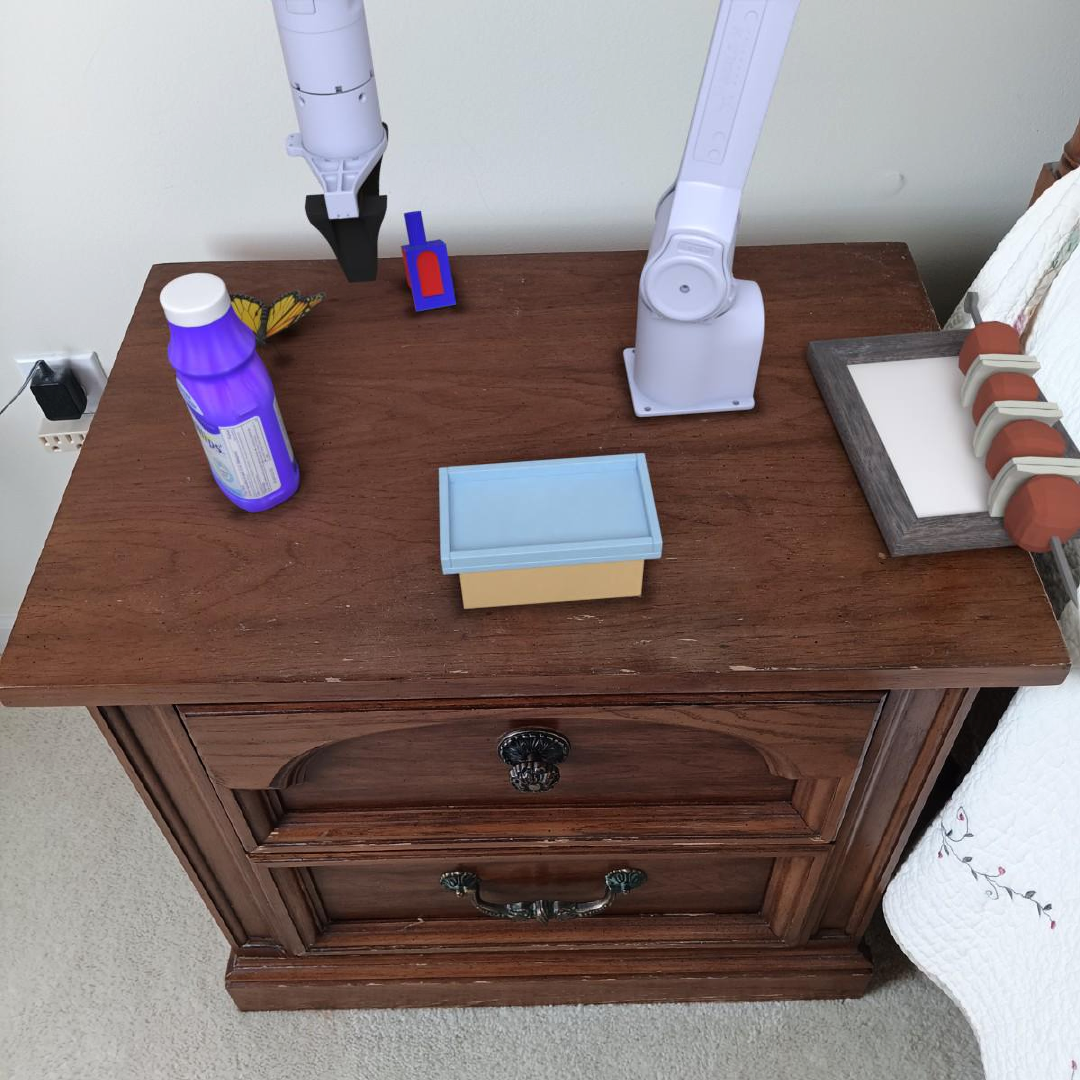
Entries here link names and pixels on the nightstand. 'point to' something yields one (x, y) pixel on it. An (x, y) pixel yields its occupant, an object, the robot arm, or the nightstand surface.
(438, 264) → the toy building block
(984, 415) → the skewer
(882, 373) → the picture frame
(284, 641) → the nightstand surface
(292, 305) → the butterfly
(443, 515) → the stand
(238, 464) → the bottle
